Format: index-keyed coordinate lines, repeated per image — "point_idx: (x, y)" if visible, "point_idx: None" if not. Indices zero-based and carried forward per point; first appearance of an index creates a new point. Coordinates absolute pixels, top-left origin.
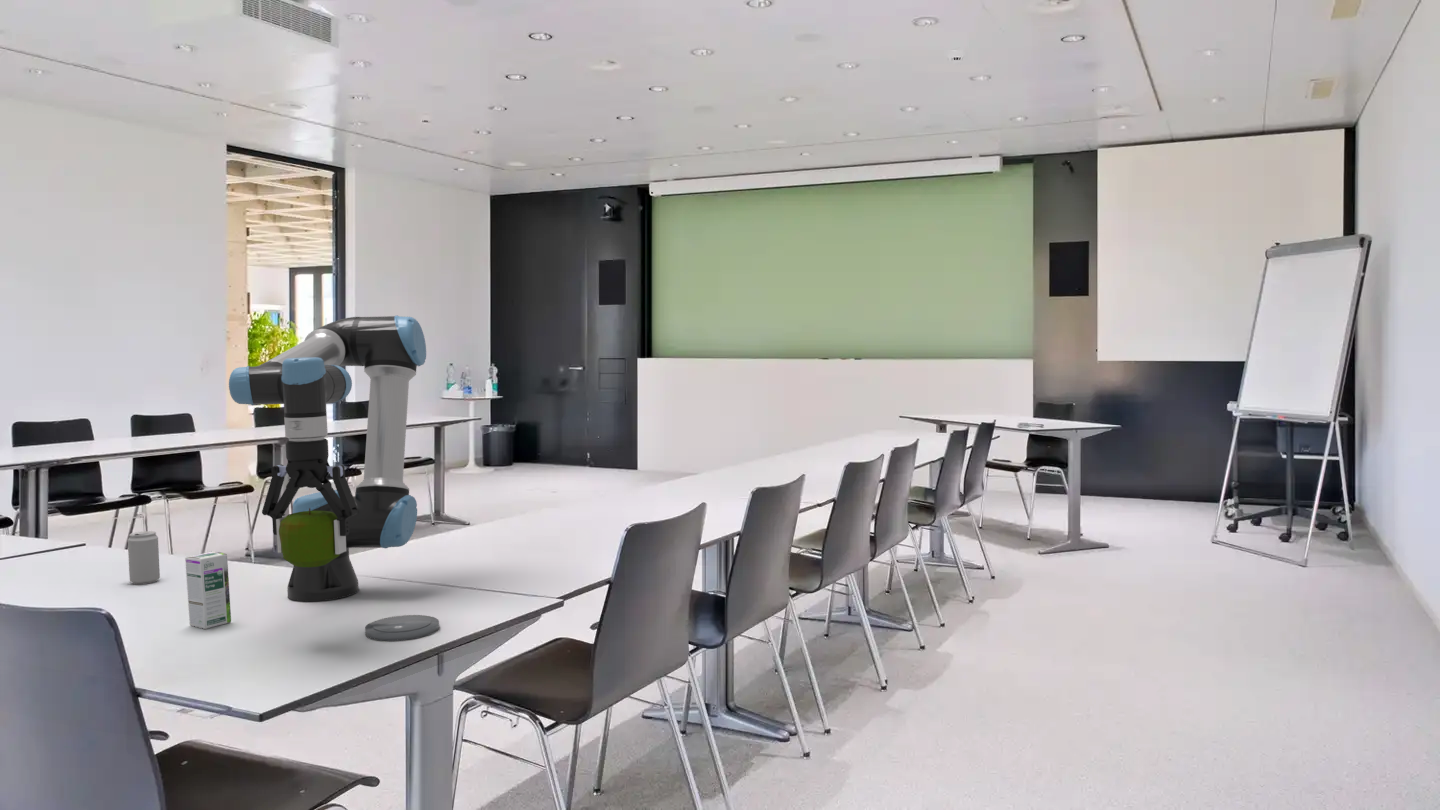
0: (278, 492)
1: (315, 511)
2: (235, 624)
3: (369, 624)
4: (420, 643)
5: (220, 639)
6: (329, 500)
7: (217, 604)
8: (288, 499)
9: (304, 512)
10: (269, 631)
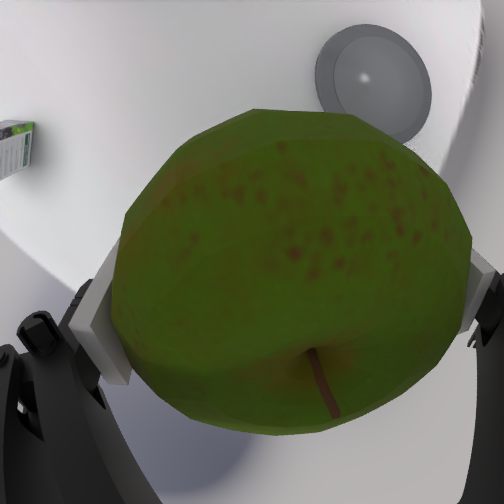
0: (24, 498)
1: (327, 314)
2: (45, 125)
3: (322, 85)
4: (425, 153)
5: (86, 198)
6: (490, 423)
7: (9, 153)
8: (149, 496)
9: (245, 364)
10: (124, 134)
